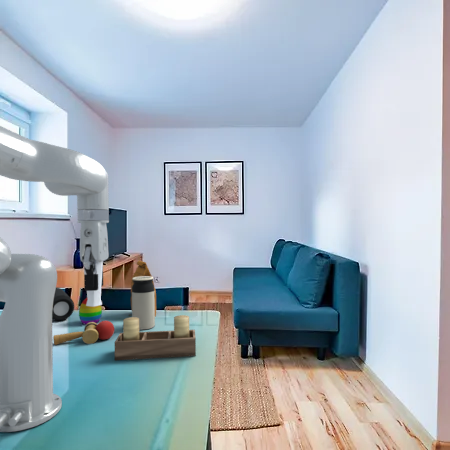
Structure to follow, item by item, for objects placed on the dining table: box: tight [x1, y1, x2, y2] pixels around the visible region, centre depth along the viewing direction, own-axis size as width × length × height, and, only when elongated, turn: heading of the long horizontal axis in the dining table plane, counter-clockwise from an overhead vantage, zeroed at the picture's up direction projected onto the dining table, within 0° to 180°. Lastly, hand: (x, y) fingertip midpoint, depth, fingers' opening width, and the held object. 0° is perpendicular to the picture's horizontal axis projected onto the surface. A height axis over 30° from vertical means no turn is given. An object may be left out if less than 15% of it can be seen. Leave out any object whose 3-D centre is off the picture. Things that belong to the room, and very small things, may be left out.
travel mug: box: [131, 275, 156, 331], centre depth 124 cm, size 8×8×18 cm
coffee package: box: [130, 260, 157, 318], centre depth 140 cm, size 10×12×22 cm
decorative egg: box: [78, 297, 103, 325], centre depth 130 cm, size 8×8×10 cm
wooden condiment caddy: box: [114, 314, 197, 361], centre depth 99 cm, size 8×22×10 cm, turn 96°
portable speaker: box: [52, 287, 75, 322], centre depth 142 cm, size 26×10×10 cm, turn 33°
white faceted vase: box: [86, 259, 104, 307], centre depth 87 cm, size 5×4×15 cm
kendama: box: [52, 320, 115, 346], centre depth 109 cm, size 8×6×18 cm
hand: (94, 287), depth 87 cm, fingers closed on white faceted vase, 4 cm apart
